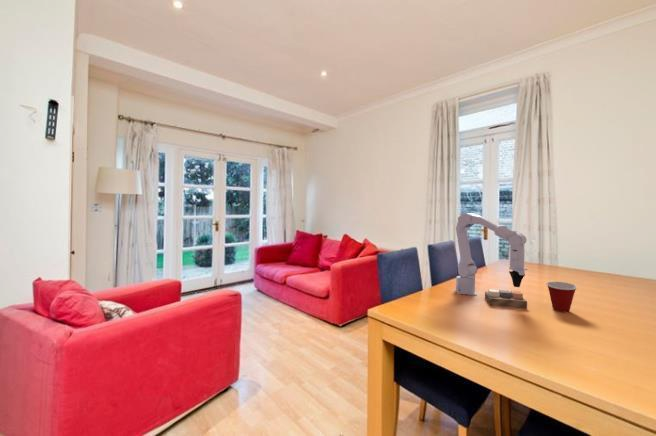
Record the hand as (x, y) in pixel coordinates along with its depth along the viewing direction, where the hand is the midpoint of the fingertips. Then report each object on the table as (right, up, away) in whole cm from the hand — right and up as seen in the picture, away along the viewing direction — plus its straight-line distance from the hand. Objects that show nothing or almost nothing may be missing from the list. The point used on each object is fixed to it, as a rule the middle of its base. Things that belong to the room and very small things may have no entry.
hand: (516, 286), depth 132 cm
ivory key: (-9, -6, +3) cm, 11 cm away
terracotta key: (0, -6, 0) cm, 6 cm away
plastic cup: (+15, -9, -7) cm, 19 cm away
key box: (-5, -9, +2) cm, 10 cm away
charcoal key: (-5, -6, +2) cm, 8 cm away
